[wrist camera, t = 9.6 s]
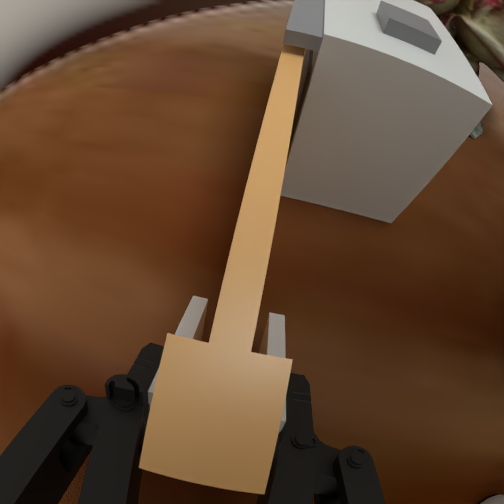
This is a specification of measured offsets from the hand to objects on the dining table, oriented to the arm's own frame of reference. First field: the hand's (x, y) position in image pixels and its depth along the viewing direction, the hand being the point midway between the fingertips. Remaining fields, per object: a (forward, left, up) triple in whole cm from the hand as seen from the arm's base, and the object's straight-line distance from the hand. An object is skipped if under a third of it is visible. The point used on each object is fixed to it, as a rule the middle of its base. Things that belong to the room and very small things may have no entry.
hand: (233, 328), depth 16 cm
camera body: (+2, -18, -3) cm, 19 cm away
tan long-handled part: (+1, -3, -2) cm, 4 cm away
